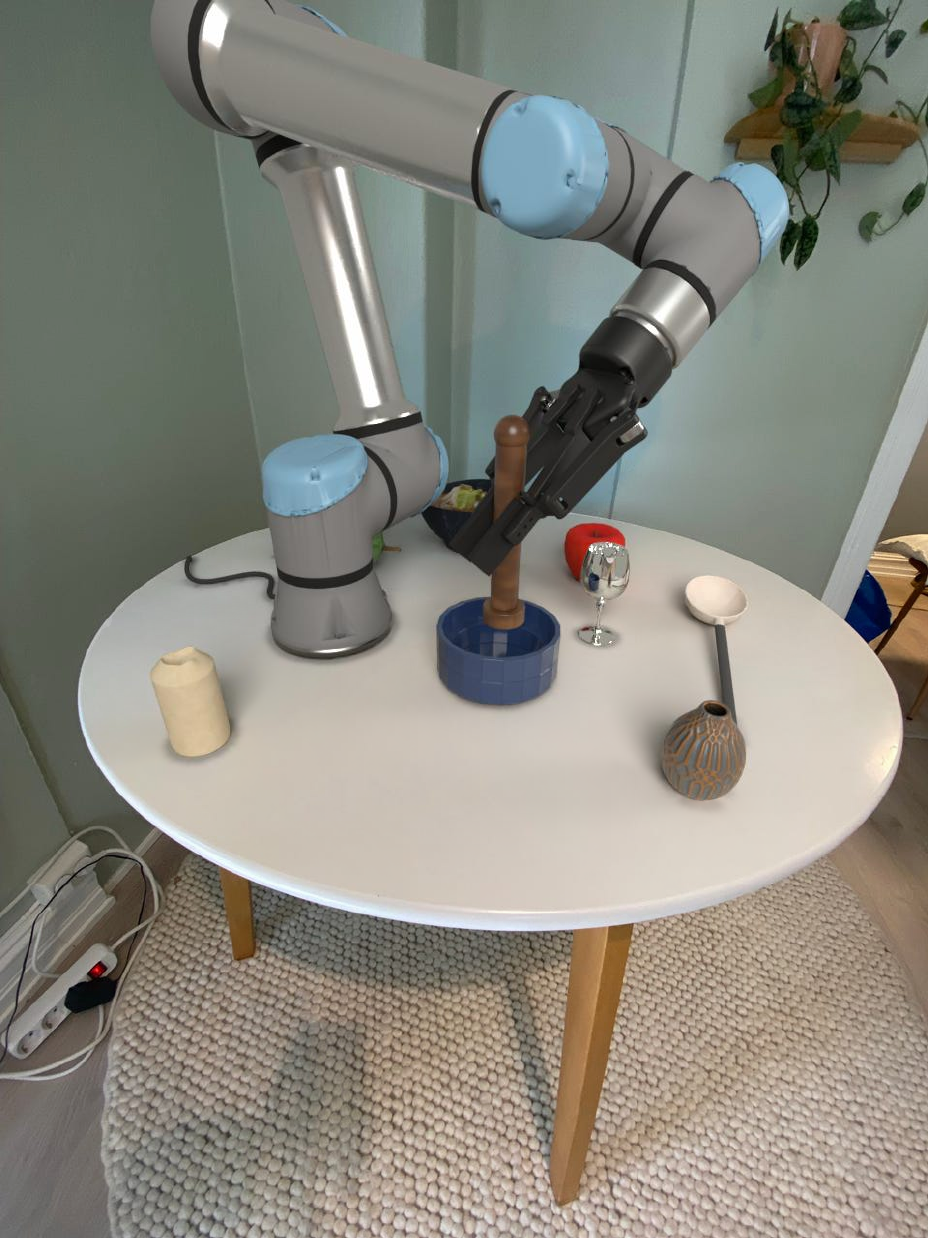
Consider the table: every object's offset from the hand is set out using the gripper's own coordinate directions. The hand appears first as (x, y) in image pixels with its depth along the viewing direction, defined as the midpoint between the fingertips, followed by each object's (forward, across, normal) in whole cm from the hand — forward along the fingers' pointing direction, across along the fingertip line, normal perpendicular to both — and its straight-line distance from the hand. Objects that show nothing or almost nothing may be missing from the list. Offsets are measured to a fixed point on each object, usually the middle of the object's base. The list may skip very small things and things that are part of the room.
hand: (468, 559), depth 53 cm
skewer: (+12, +45, -14) cm, 49 cm away
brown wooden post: (+2, 0, -8) cm, 8 cm away
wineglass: (-3, +7, -29) cm, 30 cm away
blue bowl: (+8, +6, -18) cm, 21 cm away
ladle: (-10, -4, -36) cm, 38 cm away
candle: (+30, +10, +4) cm, 32 cm away
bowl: (-3, +40, -29) cm, 50 cm away
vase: (+3, -18, -23) cm, 29 cm away
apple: (-10, +20, -36) cm, 43 cm away
